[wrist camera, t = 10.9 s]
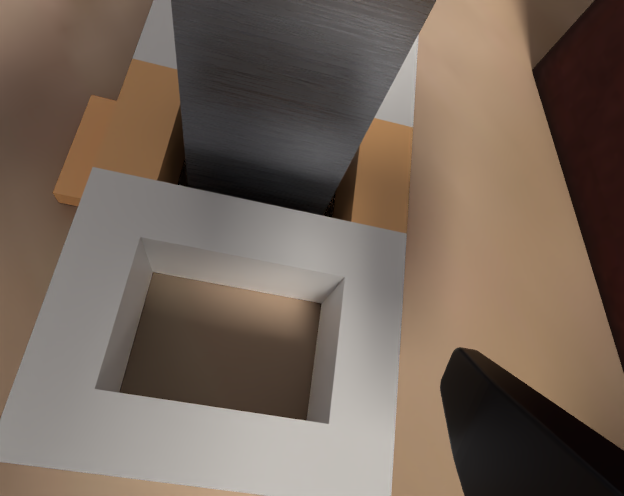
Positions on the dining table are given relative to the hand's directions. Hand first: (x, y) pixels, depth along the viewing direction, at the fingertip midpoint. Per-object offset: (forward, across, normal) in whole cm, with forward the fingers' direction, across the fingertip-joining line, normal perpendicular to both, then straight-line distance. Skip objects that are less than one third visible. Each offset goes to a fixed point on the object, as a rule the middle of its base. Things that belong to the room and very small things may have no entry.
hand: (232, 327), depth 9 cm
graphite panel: (+11, 0, +1) cm, 11 cm away
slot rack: (+11, +1, +1) cm, 11 cm away
